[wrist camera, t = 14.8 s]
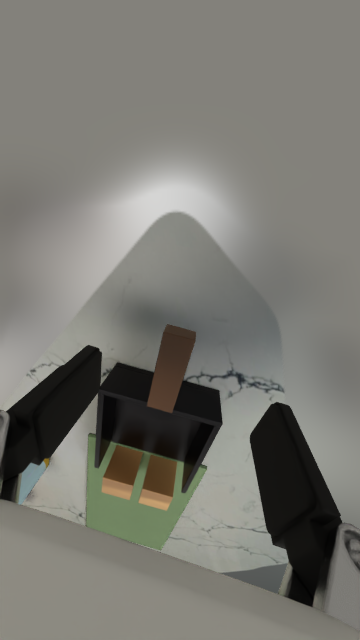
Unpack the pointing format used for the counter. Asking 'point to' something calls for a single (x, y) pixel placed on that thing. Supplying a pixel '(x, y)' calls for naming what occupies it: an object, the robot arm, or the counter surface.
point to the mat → (133, 502)
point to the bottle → (31, 478)
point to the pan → (159, 408)
